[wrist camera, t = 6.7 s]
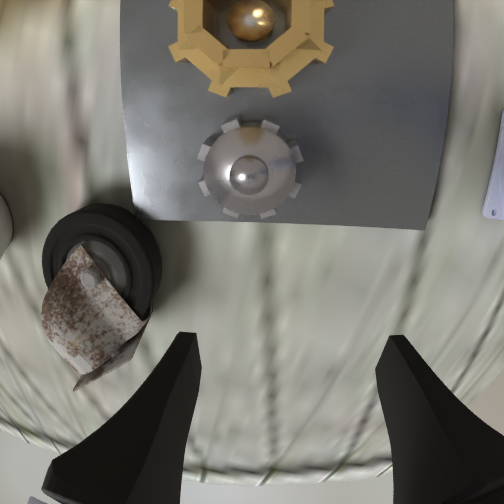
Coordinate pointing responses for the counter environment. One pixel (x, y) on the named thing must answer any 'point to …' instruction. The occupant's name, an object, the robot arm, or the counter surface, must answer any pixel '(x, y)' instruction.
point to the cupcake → (5, 226)
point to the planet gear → (250, 60)
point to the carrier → (291, 119)
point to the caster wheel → (98, 288)
